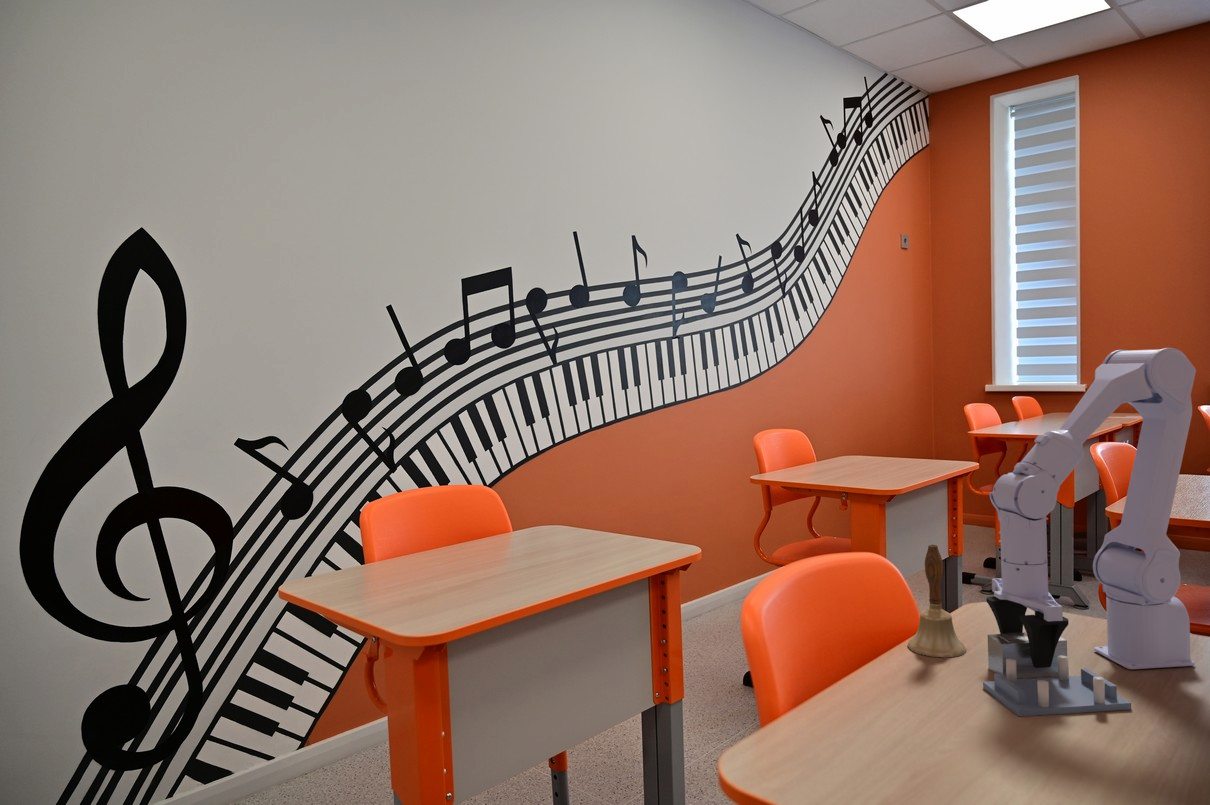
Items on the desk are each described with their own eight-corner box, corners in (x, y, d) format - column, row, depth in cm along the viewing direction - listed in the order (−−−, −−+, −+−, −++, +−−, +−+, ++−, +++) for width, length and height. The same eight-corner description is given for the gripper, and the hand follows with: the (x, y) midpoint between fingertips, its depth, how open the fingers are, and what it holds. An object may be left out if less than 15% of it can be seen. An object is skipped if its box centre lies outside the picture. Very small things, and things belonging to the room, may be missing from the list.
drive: (1051, 665, 115) (1050, 630, 115) (1067, 676, 111) (1066, 639, 111) (988, 669, 115) (987, 634, 115) (1003, 680, 111) (1001, 643, 111)
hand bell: (975, 656, 120) (972, 549, 119) (919, 659, 120) (915, 552, 119) (953, 638, 128) (949, 537, 127) (900, 640, 128) (896, 540, 128)
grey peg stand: (1086, 681, 109) (1085, 653, 109) (1131, 709, 100) (1130, 679, 100) (983, 687, 109) (982, 659, 108) (1019, 716, 100) (1018, 686, 99)
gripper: (970, 550, 120) (973, 641, 120) (1023, 574, 105) (1026, 678, 106) (1017, 547, 120) (1020, 638, 120) (1077, 571, 105) (1079, 674, 106)
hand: (1026, 656), depth 113 cm, fingers open, 7 cm apart
